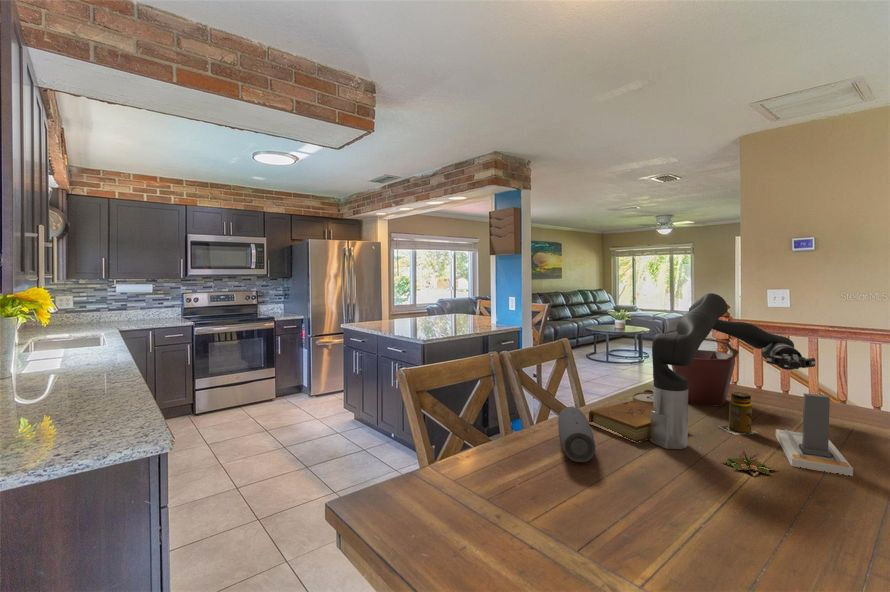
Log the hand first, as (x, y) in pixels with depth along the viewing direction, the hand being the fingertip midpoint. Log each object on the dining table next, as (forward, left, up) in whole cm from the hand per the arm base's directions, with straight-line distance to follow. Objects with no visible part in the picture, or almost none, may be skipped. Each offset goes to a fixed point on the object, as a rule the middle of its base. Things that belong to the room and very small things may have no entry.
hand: (795, 365), depth 128 cm
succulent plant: (-31, -8, -24) cm, 40 cm away
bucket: (+11, +40, -23) cm, 47 cm away
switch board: (-7, -8, -23) cm, 25 cm away
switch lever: (-11, -12, -21) cm, 26 cm away
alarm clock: (-12, +44, -23) cm, 51 cm away
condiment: (-8, +12, -23) cm, 27 cm away
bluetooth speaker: (-66, +19, -23) cm, 73 cm away
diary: (-36, +27, -24) cm, 51 cm away
